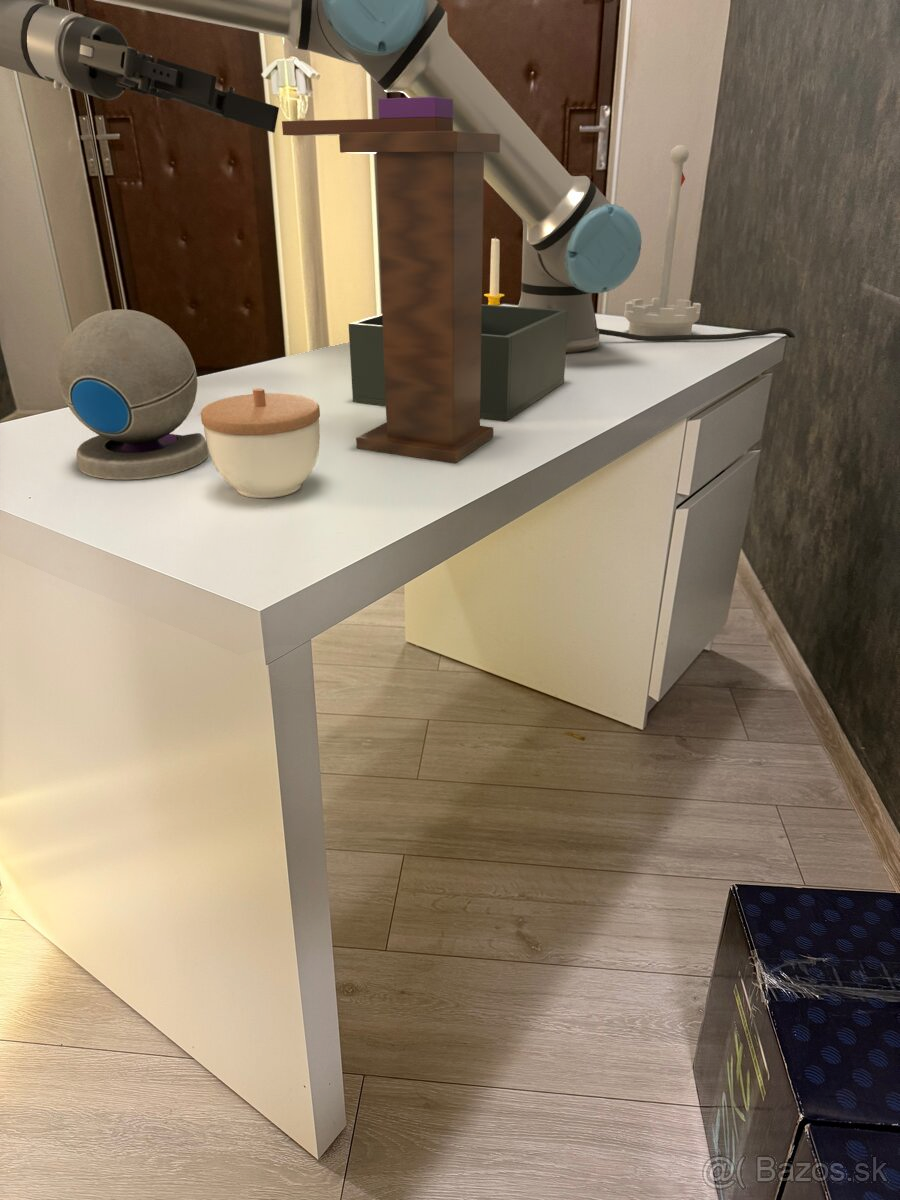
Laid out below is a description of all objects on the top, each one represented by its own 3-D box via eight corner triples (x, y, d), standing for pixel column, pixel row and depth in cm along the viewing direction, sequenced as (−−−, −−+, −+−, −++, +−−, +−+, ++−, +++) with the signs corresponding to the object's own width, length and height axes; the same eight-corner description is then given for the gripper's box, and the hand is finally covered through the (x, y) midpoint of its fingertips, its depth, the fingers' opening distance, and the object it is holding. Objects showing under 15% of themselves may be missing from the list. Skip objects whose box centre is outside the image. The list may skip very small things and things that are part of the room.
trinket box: (322, 505, 75) (314, 403, 71) (202, 509, 74) (186, 406, 70) (328, 467, 85) (321, 374, 80) (221, 470, 84) (208, 377, 79)
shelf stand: (356, 448, 90) (338, 132, 76) (400, 424, 98) (391, 135, 84) (455, 463, 86) (456, 130, 72) (493, 437, 94) (500, 133, 80)
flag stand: (685, 344, 141) (711, 143, 127) (612, 337, 147) (629, 144, 133) (704, 331, 152) (730, 144, 137) (635, 325, 157) (653, 145, 143)
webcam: (227, 445, 91) (209, 302, 84) (170, 484, 80) (143, 323, 73) (121, 438, 94) (94, 298, 87) (51, 475, 83) (13, 319, 76)
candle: (512, 324, 159) (515, 236, 152) (493, 327, 156) (495, 237, 148) (493, 320, 162) (495, 234, 155) (474, 324, 159) (475, 235, 152)
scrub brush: (282, 135, 82) (279, 102, 81) (303, 136, 85) (301, 104, 84) (436, 132, 76) (435, 96, 74) (453, 133, 78) (453, 99, 77)
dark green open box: (427, 368, 125) (426, 300, 120) (564, 383, 117) (568, 310, 112) (352, 401, 108) (348, 323, 103) (506, 421, 100) (509, 337, 95)
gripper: (145, 115, 107) (290, 162, 104) (-6, 60, 84) (174, 119, 81) (154, 49, 104) (303, 96, 101) (0, -25, 81) (186, 31, 78)
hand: (246, 106), depth 91 cm, fingers open, 13 cm apart
